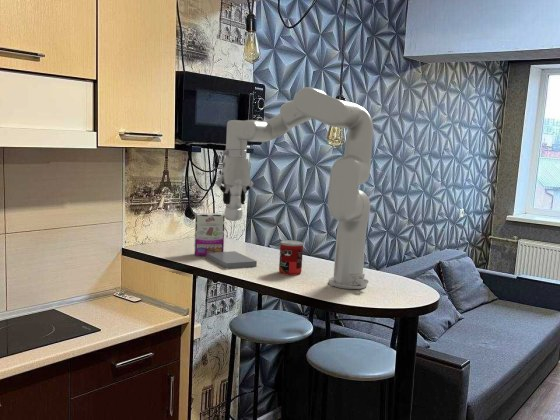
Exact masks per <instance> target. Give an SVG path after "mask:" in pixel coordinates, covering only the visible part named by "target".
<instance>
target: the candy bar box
mask: <svg viewBox="0 0 560 420" xmlns="http://www.w3.org/2000/svg"><path fill="white" fill-rule="evenodd" d="M194 215H195V217H194V219H195V220H194V223H195V224H194V256H195V257H207V253H214V252H224V247H225V246H224V245H225V243H224V242H225V220H226V218H225V215H224V213H219V212H218V213H213V212H210V213H208V212H207V213H205V212H200V213H199V212H195V214H194Z"/></svg>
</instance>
